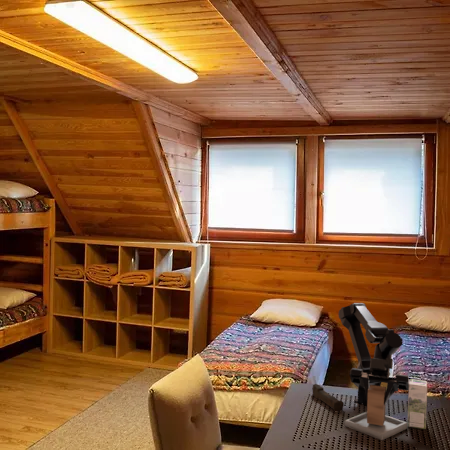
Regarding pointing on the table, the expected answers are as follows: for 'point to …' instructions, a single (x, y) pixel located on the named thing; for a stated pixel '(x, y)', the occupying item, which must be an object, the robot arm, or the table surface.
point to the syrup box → (417, 403)
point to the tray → (376, 426)
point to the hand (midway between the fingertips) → (375, 403)
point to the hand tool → (327, 398)
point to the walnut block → (376, 405)
